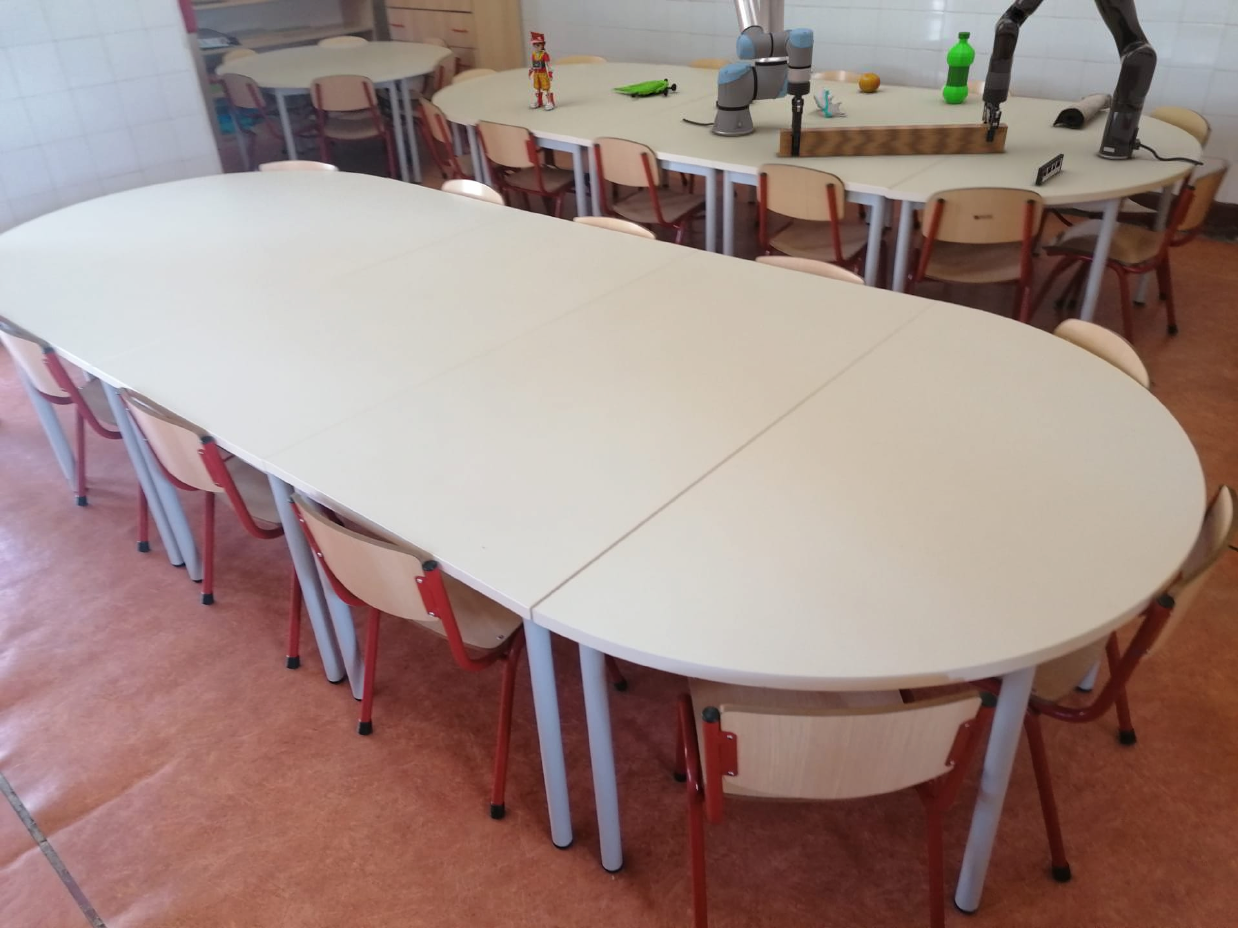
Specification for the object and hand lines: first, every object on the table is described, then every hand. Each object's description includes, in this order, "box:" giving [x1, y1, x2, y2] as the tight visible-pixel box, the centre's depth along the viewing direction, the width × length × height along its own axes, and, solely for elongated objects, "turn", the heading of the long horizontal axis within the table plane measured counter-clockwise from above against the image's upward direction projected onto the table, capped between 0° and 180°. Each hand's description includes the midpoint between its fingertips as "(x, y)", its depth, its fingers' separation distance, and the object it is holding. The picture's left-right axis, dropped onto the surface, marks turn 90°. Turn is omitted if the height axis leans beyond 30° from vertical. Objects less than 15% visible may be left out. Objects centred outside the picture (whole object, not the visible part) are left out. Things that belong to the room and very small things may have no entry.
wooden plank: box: [778, 122, 1009, 158], centre depth 302 cm, size 74×4×8 cm, turn 83°
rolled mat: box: [1052, 92, 1113, 129], centre depth 324 cm, size 30×9×10 cm
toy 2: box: [612, 78, 677, 99], centre depth 396 cm, size 28×5×30 cm
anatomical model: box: [813, 86, 846, 118], centre depth 348 cm, size 15×10×10 cm
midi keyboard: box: [1035, 153, 1065, 186], centre depth 273 cm, size 18×1×5 cm, turn 138°
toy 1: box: [527, 31, 556, 111], centre depth 374 cm, size 12×9×30 cm
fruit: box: [858, 72, 881, 93], centre depth 374 cm, size 8×8×8 cm
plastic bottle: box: [942, 31, 976, 104], centre depth 348 cm, size 10×10×25 cm
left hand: (794, 153), depth 308 cm, fingers closed on wooden plank, 4 cm apart
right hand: (987, 139), depth 298 cm, fingers open, 6 cm apart
